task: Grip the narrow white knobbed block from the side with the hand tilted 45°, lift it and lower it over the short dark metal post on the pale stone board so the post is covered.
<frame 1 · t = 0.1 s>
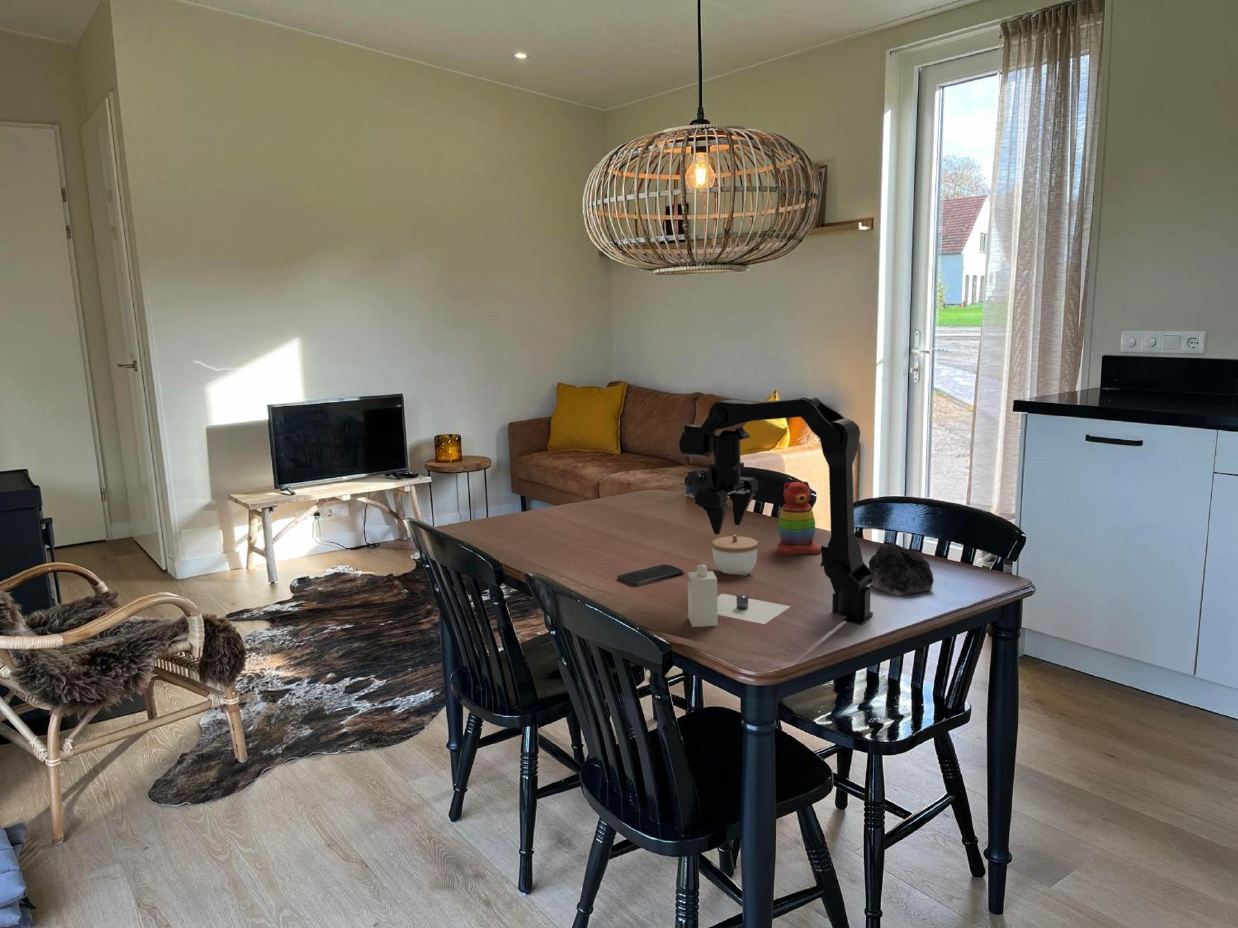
hand: (727, 529, 187), 15 cm above the table, fingers open, 9 cm apart
dark rough rock: (900, 587, 192), on the table
white knobbed block: (702, 626, 171), on the table
metal post: (742, 607, 178), resting on stone board
stacking bear: (796, 550, 223), on the table
lidded jar: (735, 574, 204), on the table
phone: (650, 578, 204), on the table
stone board: (742, 612, 178), on the table
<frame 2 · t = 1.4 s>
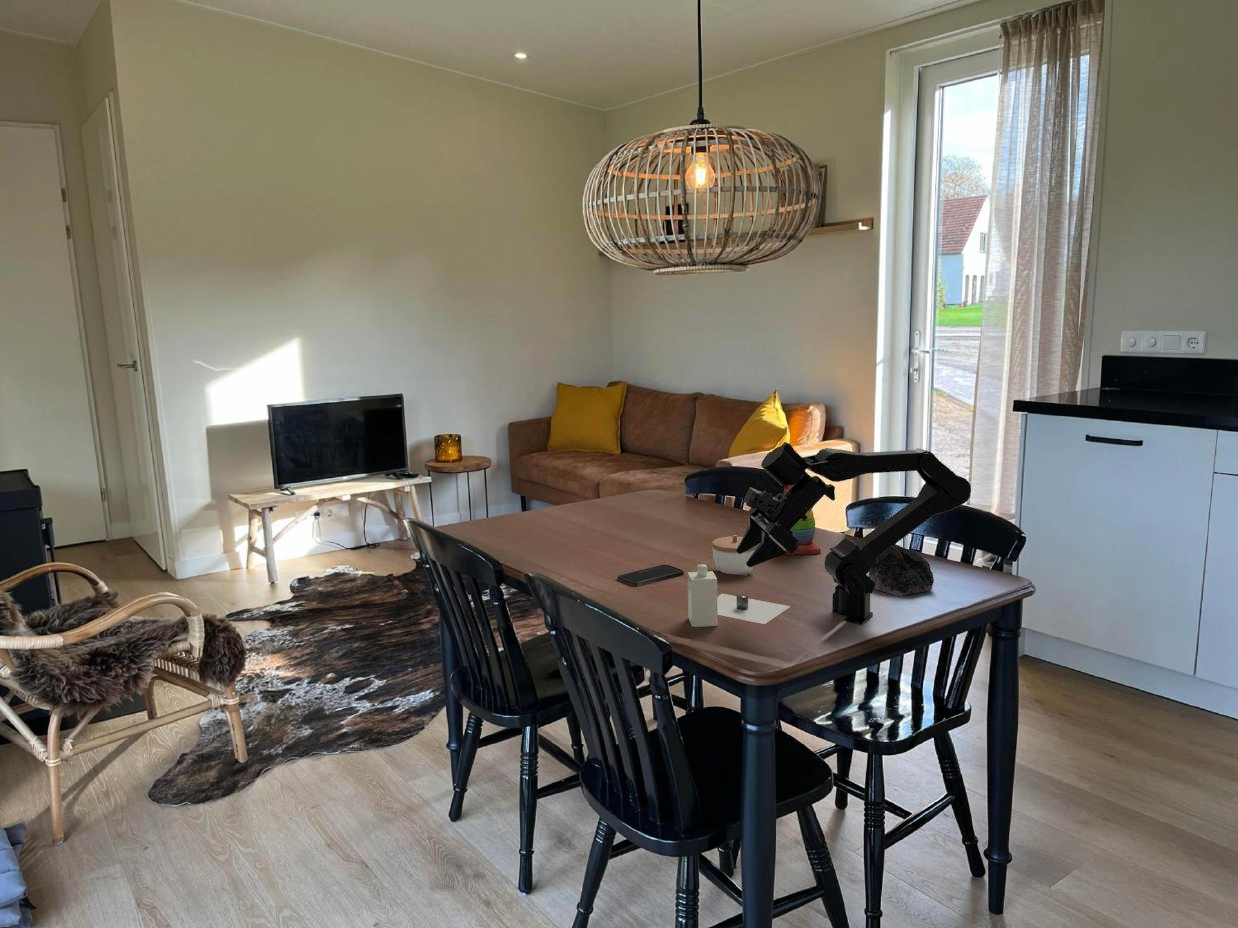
hand: (742, 558, 169), 13 cm above the table, fingers open, 9 cm apart
nothing on the table moved.
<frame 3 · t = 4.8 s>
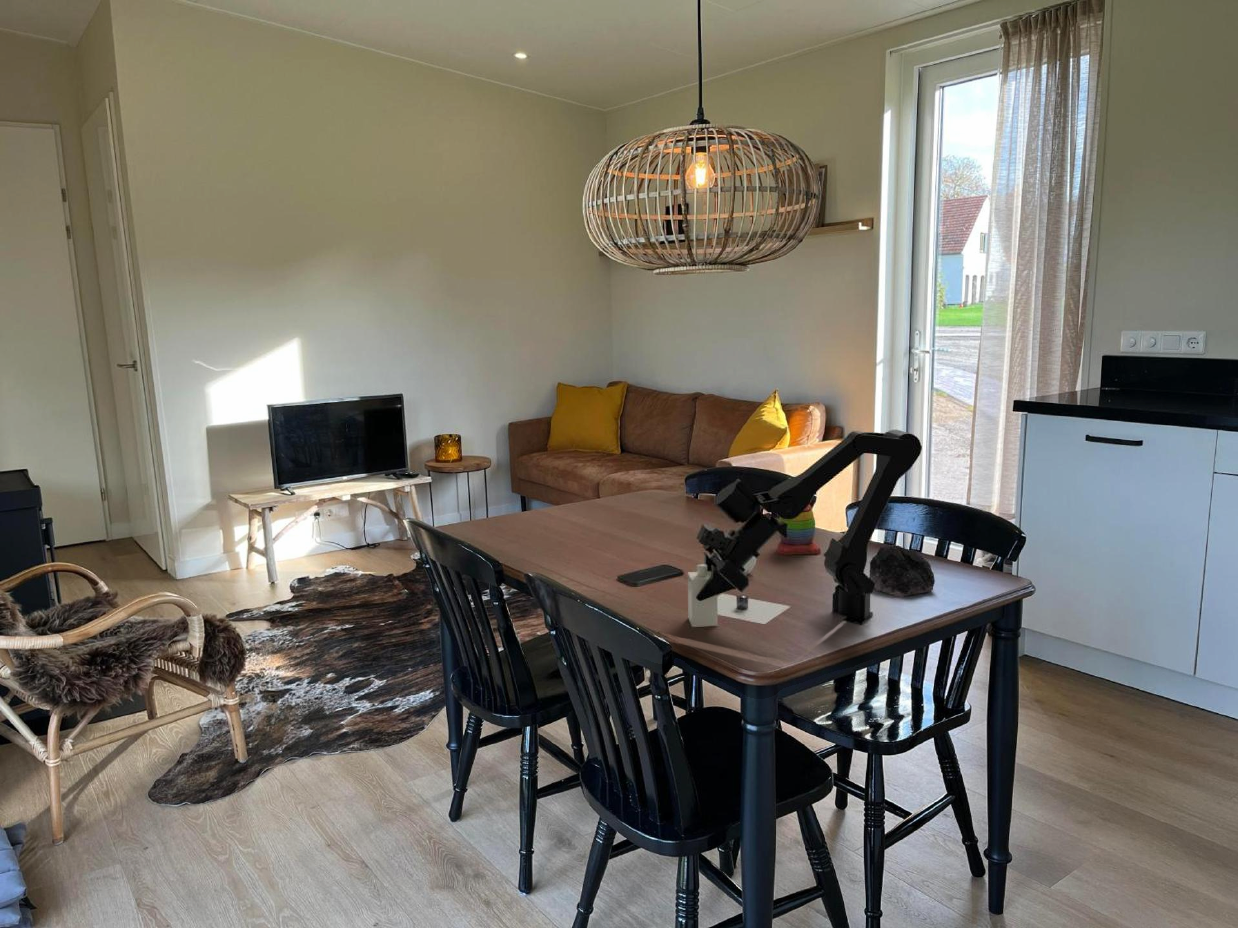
hand: (695, 594, 170), 7 cm above the table, fingers closed on white knobbed block, 5 cm apart
white knobbed block: (702, 626, 171), on the table, touching gripper
everything else where it was.
when the fingers open (9 cm above the table, at t = 9.3 s): white knobbed block drops 1 cm, resting on stone board.
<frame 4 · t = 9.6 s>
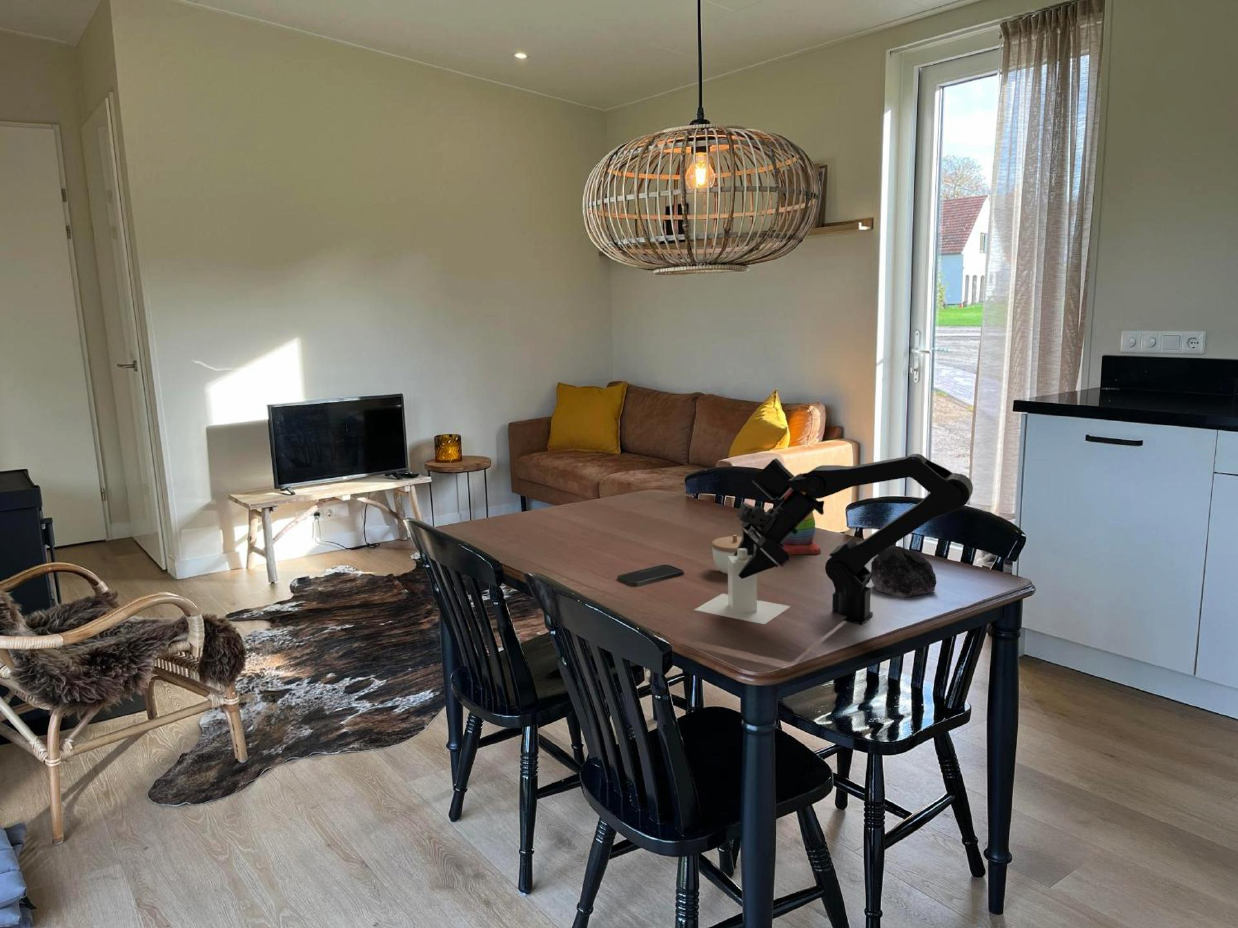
hand: (735, 570, 176), 9 cm above the table, fingers open, 8 cm apart
white knobbed block: (742, 608, 178), point 1 cm above the table, touching stone board
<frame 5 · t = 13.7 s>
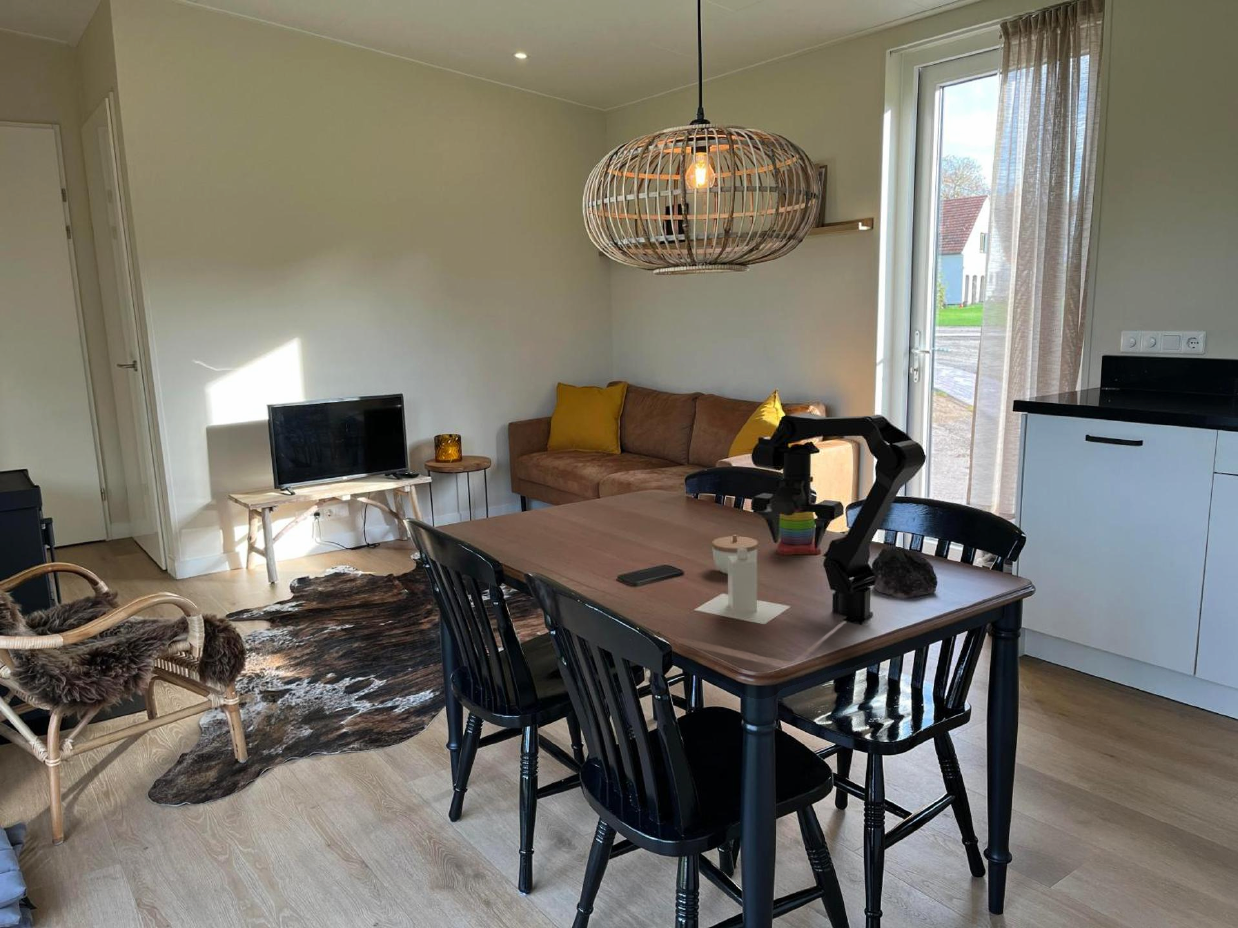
hand: (796, 545, 183), 12 cm above the table, fingers open, 9 cm apart
at the end: white knobbed block 0.0 cm from the metal post (horizontally); white knobbed block point 1.0 cm above the table; white knobbed block tilted 0° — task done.
